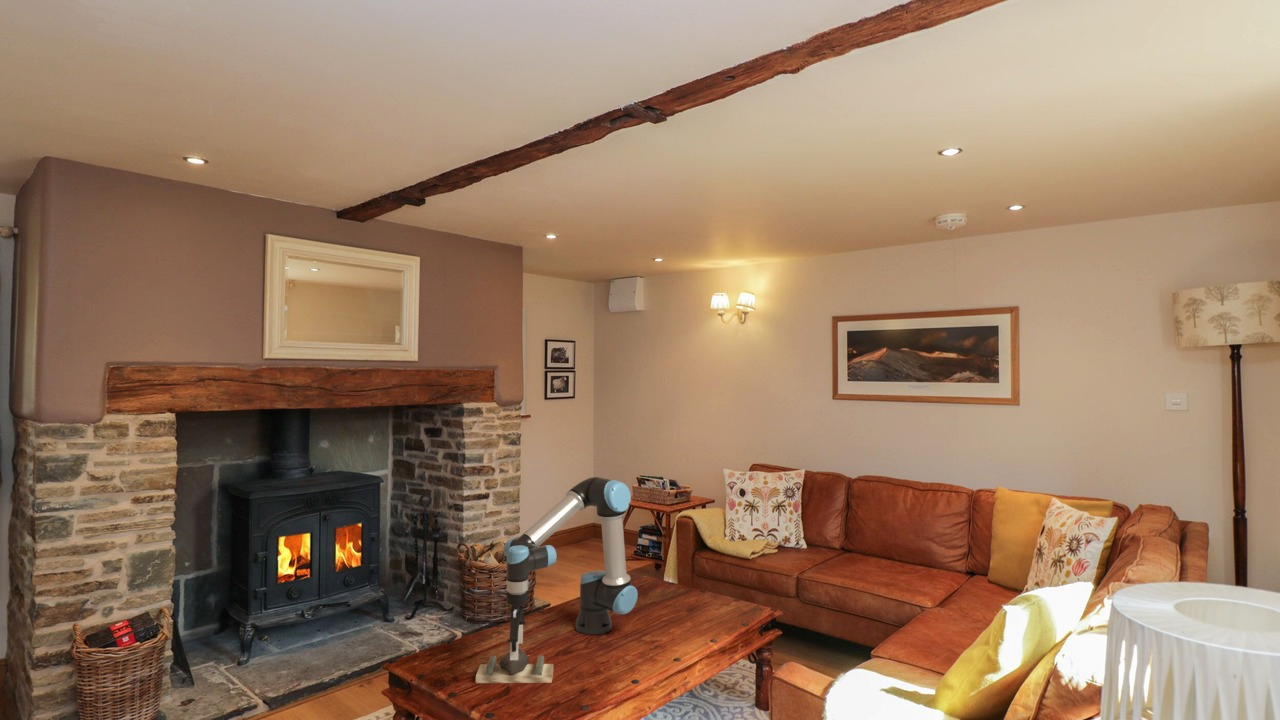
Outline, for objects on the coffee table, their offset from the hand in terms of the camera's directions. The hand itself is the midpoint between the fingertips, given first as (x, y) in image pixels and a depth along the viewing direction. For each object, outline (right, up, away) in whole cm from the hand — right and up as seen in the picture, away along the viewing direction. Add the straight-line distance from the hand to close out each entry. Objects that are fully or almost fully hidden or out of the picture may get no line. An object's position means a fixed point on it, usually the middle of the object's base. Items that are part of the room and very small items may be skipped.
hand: (516, 651), depth 240 cm
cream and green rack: (0, -9, 0) cm, 9 cm away
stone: (-1, -7, 0) cm, 7 cm away
